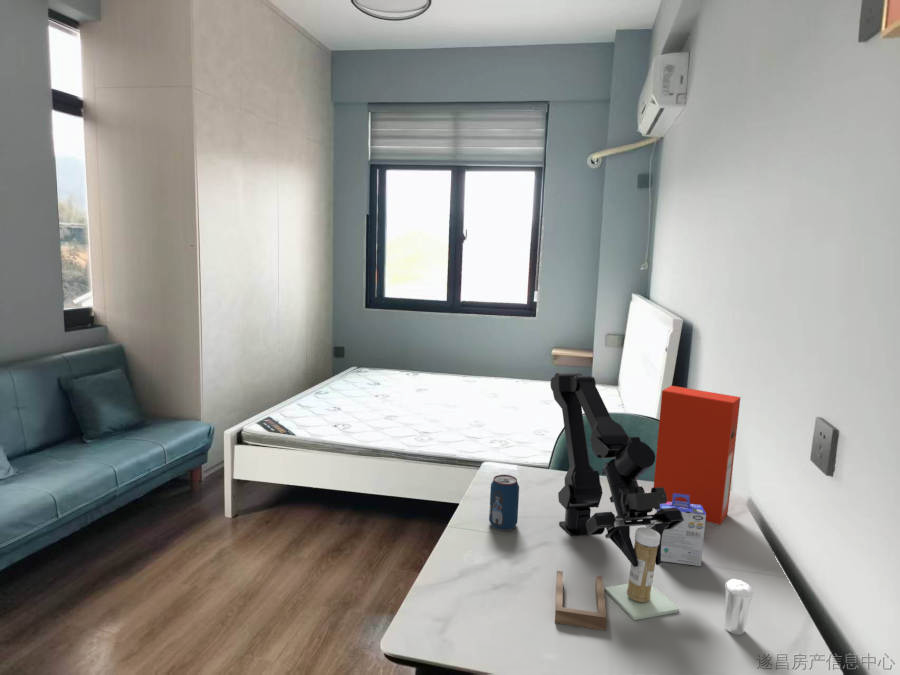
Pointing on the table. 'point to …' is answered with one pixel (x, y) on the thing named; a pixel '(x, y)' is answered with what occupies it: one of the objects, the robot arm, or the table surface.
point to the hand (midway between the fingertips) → (647, 565)
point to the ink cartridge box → (684, 534)
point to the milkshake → (737, 605)
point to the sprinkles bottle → (643, 564)
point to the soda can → (504, 502)
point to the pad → (641, 603)
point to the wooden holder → (580, 616)
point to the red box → (697, 448)
